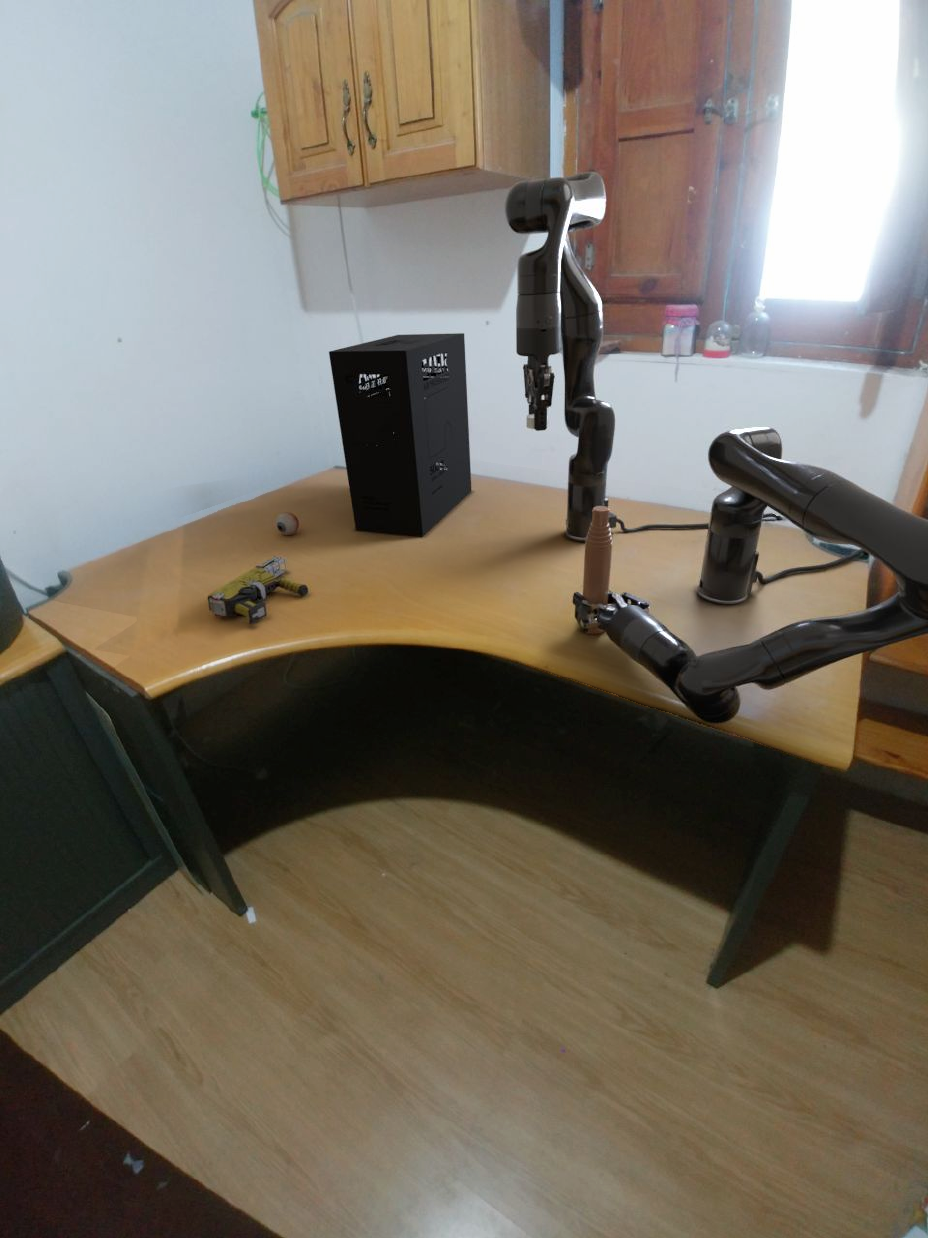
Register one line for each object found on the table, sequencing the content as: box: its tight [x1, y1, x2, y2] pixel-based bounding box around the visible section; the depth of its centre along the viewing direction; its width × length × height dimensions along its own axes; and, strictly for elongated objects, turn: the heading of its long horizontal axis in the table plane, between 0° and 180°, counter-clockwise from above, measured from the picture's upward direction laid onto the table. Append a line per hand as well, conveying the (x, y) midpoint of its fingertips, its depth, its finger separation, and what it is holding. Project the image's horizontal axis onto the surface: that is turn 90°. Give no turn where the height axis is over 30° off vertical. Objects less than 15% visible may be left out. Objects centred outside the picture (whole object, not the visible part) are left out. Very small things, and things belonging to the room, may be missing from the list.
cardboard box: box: [328, 332, 472, 537], centre depth 166 cm, size 38×20×45 cm, turn 159°
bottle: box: [581, 506, 613, 635], centre depth 109 cm, size 5×5×24 cm
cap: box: [526, 414, 549, 430], centre depth 110 cm, size 4×4×2 cm
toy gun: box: [206, 555, 309, 625], centre depth 131 cm, size 5×24×15 cm
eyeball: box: [275, 511, 300, 536], centre depth 163 cm, size 6×6×6 cm
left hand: (537, 426), depth 111 cm, fingers closed on cap, 4 cm apart
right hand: (587, 593), depth 114 cm, fingers closed on bottle, 4 cm apart
